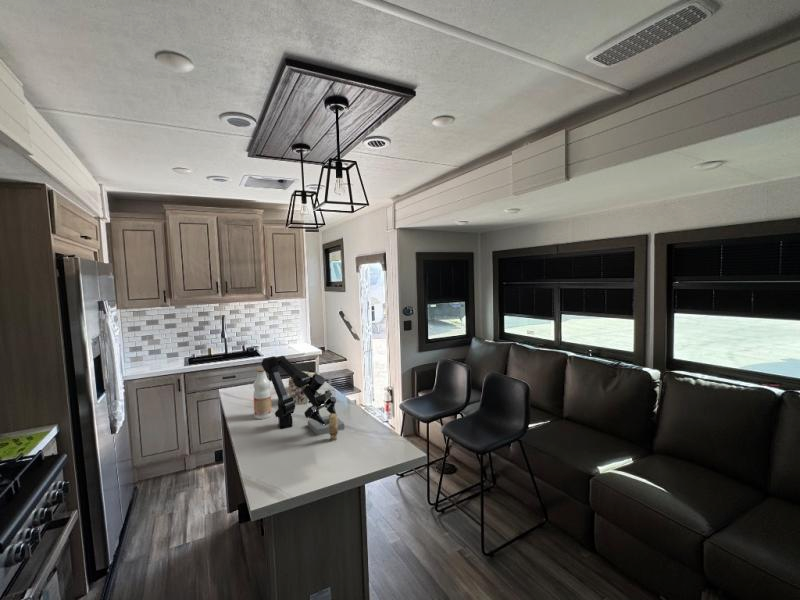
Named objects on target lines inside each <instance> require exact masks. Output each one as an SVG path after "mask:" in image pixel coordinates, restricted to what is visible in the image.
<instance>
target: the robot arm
mask: <svg viewBox="0 0 800 600" xmlns="http://www.w3.org/2000/svg"><path fill="white" fill-rule="evenodd" d="M261 367H262V368H263V369H264V370H265V371H266V372H265V373H266V374H268V375H269V377H270V380H271V383H272V385H273V388H274V391H275V394H276V396H277V398H278V400H277V409H276V411H275V412H274V415H275V418H278V424H277V426H278V428H279V429H280V430H283V429H287V428H291V427H293V426H294V425H293V423H294V422H293V416H292V415H293V414H294V412H295V409H296V405H295V402H294V400H293V397H289V394H288V393H287V390H286V388H285V387H286V386H285V385H284V383H283V380H282V377H281V375H280V372H279V368H281V369H282V370H283V371H284V372H285V373H286V374H287V375H288V376H290V377H292V380H293V383H294V384H295V385H296V386H297V387H298V388H301V387H304V386H306V385H307V386H306V387H305V388H303V389H301V395H302V394H305V395H306V397H307V398H308V404H311V406H309V407H308V408H307V409H306V410H305V412H304V416H305V418H306V419H308V420H311V419H313V420H316V421H318V422H320V423H321V424H325V422H324V420H323V419H322V417H323V416H321V414H320V410H321V409H323V408H326V411H327V412H328V413H329V414H332V413H335V414H337V413H336V412H337V411H336V407H335V404H336V402H337V398H336V397H335V396H332V395H333V393H332V391H331V390H330V389H327V390H325V391H324V393H323V394H322V393H321V392H318V391H319V390H321V387H323V385H324V384H325V383H326V379H325V378H324V376H322V375H320V374H318V373H316V372H315V373H316V374H314V375H313V377H310V376H309V375H307V374H306V373H304V372H305V371H303V372H301V371H302V370H299V369H298V368H297V367H295V366H294V365H293V364H292V362H290V361H289V360H288V359H287V357H285V356H284V355H280V356H269V357H265V358H263V359H262V361H261Z"/></svg>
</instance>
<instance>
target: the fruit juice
mask: <svg viewBox="0 0 800 600" xmlns="http://www.w3.org/2000/svg"><path fill="white" fill-rule="evenodd" d="M256 373H257V374H256V378H255V380H254V382H253V389H254V390H253V391H254V392H253V412H254V414H253V415H254V418H255V419H256V418H257V419H256V420H265V419H264V418H266V419H268V417H269V418H270V417H271V416H272V415H273V414H272V411H273V410H272V392H271V389H270V388H271V387H270V386H271V381H270V380H269V378H268V376H267V372H266V371H265V370H264V369H263V367H262V368H257V369H256Z"/></svg>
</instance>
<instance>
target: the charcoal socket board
mask: <svg viewBox="0 0 800 600" xmlns="http://www.w3.org/2000/svg"><path fill="white" fill-rule="evenodd" d="M321 417H322V419H323V420H324V422H325V424H326V425H323V424H321V423H320V422H318V421H316V420H313V419H311V418H310V419H308V420H307V426H308V428H309V427H310V428H311V429H312V430H313V431H312V430H311V429H310V428H309V429H310V430H311V431H312V432H313V433H314V434H315V436H317V435H318V436H321V434H322V435H326V434H329V415H326V416H321ZM337 428H338V431H341V430H342V431H343V430H344V429H345V423H344V422H343V421H342V420H341V419H340V418H338V417H337ZM325 433H326V434H325Z"/></svg>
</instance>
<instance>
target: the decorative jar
mask: <svg viewBox="0 0 800 600" xmlns="http://www.w3.org/2000/svg"><path fill="white" fill-rule="evenodd" d="M306 386H307V385H306ZM306 386H304V387H301V388H298V387H297V386H296V385H295V384H294V383H293V380H292V377H291V376H290V377H289V378H288V396H289V397H293V400H294V402H295V404H300V405H305V404H304V403H308V401H309V400H308V398H307V397H306V395H305V394H302V395H301V389H303V388H305V387H306ZM308 404H309V403H308Z"/></svg>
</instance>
